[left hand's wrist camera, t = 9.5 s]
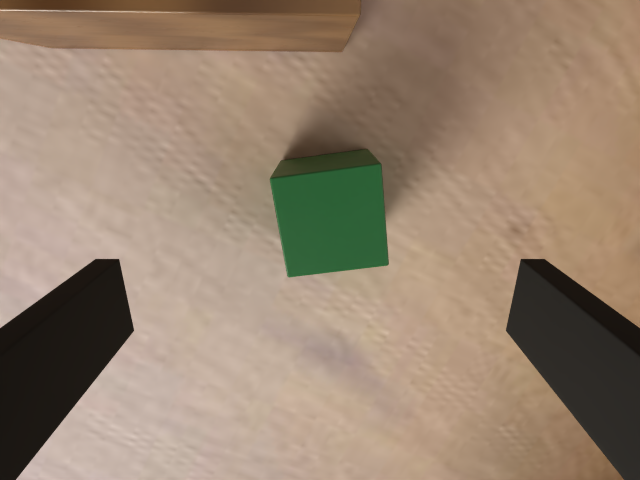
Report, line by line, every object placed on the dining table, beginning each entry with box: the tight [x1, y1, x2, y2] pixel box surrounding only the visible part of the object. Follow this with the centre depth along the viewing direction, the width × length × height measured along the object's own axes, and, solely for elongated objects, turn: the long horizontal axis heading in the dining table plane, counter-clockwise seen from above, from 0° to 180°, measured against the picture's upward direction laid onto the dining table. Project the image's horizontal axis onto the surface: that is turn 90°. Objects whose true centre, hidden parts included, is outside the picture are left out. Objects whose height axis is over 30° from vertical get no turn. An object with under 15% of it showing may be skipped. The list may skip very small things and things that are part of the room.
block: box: [270, 149, 389, 277], centre depth 22 cm, size 6×6×6 cm
